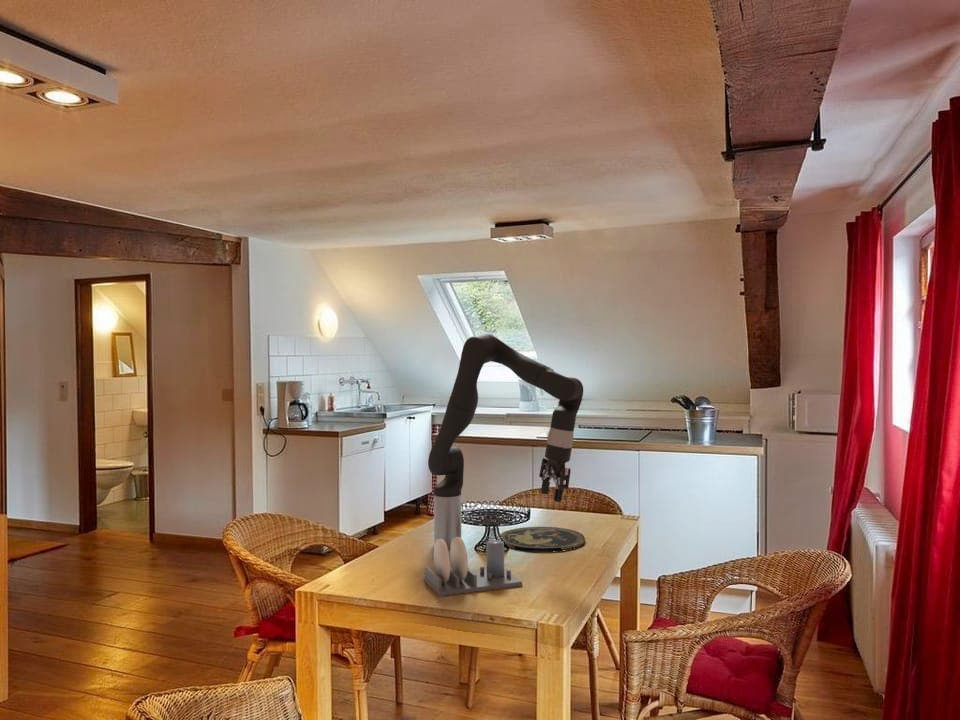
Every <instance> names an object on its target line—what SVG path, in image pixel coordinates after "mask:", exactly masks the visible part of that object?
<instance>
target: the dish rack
mask: <svg viewBox="0 0 960 720" xmlns="http://www.w3.org/2000/svg"><path fill="white" fill-rule="evenodd" d="M433 545H434V544H433ZM468 562H469V561H468V553H467V548H466V545H465V543H464V540H463V539H462V537H461V538H460V537H454V538H453V540H452V542H451V548H450V550H449V549H448V547H447V544H446V542H445V540H444V539H437V540H436V542H435V545H434V546H433V567H434V571H433V570H432V569H431V568H430V567H429V566H428V565H425V567H424V575H423V581H424V582H425V584H427V585H428V586H429V587H430V589H431V590H432V591H434V593H436V594H437V596H438V597H440V596H442V597H446V595H449V596H453V595H452V594H457V595H460V594H459V593H464V594H467V593H466V592H472V593H475V592H474V591H479V592H484V591H483V590H487V591H492V590H491V589H494V590H501V588H502V589H507V588H508V589H510V588H515V587H523V581H522V580H521V579H519V578H518V577H517V576H515V574H513V573H512V572H511V571H512V570H511V569H506V568H504V577H502V578H492V573H491V572H488V573H487V567H486V568H485V566H480V567H479V569H470V568H469V566H468V565H469V563H468ZM487 575H488V577H487Z"/></svg>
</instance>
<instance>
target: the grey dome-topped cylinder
mask: <svg viewBox="0 0 960 720" xmlns="http://www.w3.org/2000/svg"><path fill="white" fill-rule="evenodd" d="M486 568H487V573H488V572H491V573H492V578H502V577H504V569H505V547H504V542H503V541H500V540H498V539H493V540H492V539H491V540H488V541H486ZM487 577H488V575H487Z"/></svg>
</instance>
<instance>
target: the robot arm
mask: <svg viewBox="0 0 960 720" xmlns="http://www.w3.org/2000/svg"><path fill="white" fill-rule="evenodd" d="M489 362H494V363H497V364H501V365H502V366H505V367H507V368H508V369H509V370H510V371H512V372H513V373H514V375H516V376H517V377H518V378H519V379H521V380H522V381H524V382H526V383H527V384H530V385H532V386H534V387H535V388H538V389H540V390H542V391H544V393H545V392H546V393H547V394H549V395H550V396H552V397H554V398H555V399H558V405H557V407H556V408H555V409H554V410H553V412H552V415H551V419H550V420H551V421H550V427H549V431H548V434H547V439H546V444H545V445H546V446H545V452H544V457H545V458H544V457H543V458H542V459H541V465H540V471H539V478H541V481H542V482H541V483H542V484H541V487H540V488H541V490H540V493H541V494H542V495H548V494H549V492H550V484H551V480H553V482H554V485H555V488H554V489H555V490H554V494H553V495H554V496H553V501H554V502H555V503H561V502H562V499H563V495H564V494H563V493H564V490H568V489H569V485H570V477H571V471H572V470H571V468H570V467H566V463H568V462H570V460H571V456H572V455H571V454H572V449H573V443H574V437H575V436H574V434H575V424H576V418H577V415H578V412H579V410H580V406H581V404H582V400H583V396H584V385H583V382H582V381H580V379H578V378H576V377H570V376H569V377H568V376H565V375H562V374H560V373H559V372H556V371H555V370H554V369H552V367H550V366H547V365H545V364H543V363H541V362H540V361H537V360H534V359H532V358H530V357H528V356H526V355H525V354H522V352H519V351H517V350H515V349H514V348H512V347H511V346H509V345H508V344H506V343H505V342H504V341H502V340H501V339H499V338H498V337H496V336H494V335H492V334H491V333H480V334H477V335H473V336H470V337H469V338H467V340H466V341H465V342H464V344H463V346H462V350H461V356H460V361H459V366H458V370H457V375H456V378H455V381H454V384H453V387H452V391H451V394H450V396H449V399H448V401H447V404H446V405H447V406H446V410H445V412H444V413H445V414H444V416H443V420H442V422H441V425H440V428H439V431H438V433H437V435H436V438H435V440H434V442H433V444H432V447H431V449H430V451H429V453H428V454H429V455H428V459H427V460H428V461H427V463H428V465H427V466H428V471H430V473H431V474H432V475H434V476H444V478H443V479H442V480H441V481H440V482H438V483H437V484H435V485H434V487H433V545H435V542H436V540H437V539H444V540H445V542H446V544H447V547H448V550H449V549H450V548H451V542H452V540H453V538H454V537H460V538H461V539H462V489H463V486H464V485H463V484H464V471H465V469H464V468H465V460H464V459H465V458H464V453H463V451H462V450H461V449H460V447H459V446H454V443H455V442H456V440H457V438H458V437H460V435H462V433H463V432H464V431H465V430H466V429H467V428H468V427H469V426H470V424H471V422H472V420H473V419H474V416H475V413H476V410H477V407H478V403H479V394H478V393H479V392H478V380H479V377H480V374H481V371H482V369H483V367H484V365H485V364H487V363H489Z"/></svg>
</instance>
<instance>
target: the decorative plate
mask: <svg viewBox="0 0 960 720" xmlns="http://www.w3.org/2000/svg"><path fill="white" fill-rule="evenodd" d="M499 535H500V536H501V537H502V539H503V541H504V542H505V543H506V544H507V546H508V547H509V548H508V549H510V548H511V550H513V549H515V550H514V551H518V550H519V552H526V553H536V552H553V551H563V550H570V549H573V550H575V549H574V548H577V549H579V548H581V547H583V546H584V545H585V544H586V537H585V536H584V534H583V533H581V532H579V531H576V530H573V529H568V528H563V527H558V526H557V527H556V526H528V527H524V526H523V527H519V528H518V527H517V528H514V529H510V530H505V531H503V532H501V533H500V534H499ZM584 543H585V544H584ZM583 544H584V545H583ZM582 545H583V546H582ZM580 546H581V547H580ZM578 547H579V548H578ZM570 551H571V550H570ZM563 552H564V551H563ZM553 553H554V552H553Z"/></svg>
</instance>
